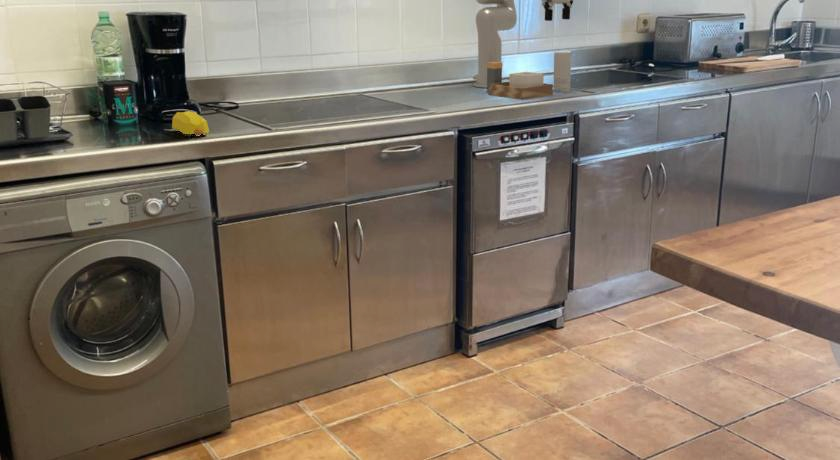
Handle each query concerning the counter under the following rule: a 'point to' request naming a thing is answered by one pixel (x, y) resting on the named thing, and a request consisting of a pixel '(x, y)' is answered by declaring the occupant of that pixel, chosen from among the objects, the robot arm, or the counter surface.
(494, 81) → the square peg
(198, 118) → the yellow lump
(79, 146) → the counter surface
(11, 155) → the counter surface
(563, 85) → the skincare box
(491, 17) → the robot arm
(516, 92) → the crate
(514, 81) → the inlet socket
